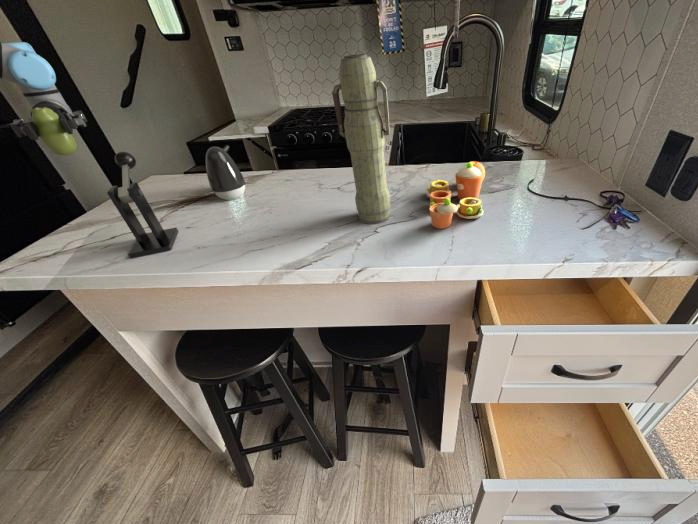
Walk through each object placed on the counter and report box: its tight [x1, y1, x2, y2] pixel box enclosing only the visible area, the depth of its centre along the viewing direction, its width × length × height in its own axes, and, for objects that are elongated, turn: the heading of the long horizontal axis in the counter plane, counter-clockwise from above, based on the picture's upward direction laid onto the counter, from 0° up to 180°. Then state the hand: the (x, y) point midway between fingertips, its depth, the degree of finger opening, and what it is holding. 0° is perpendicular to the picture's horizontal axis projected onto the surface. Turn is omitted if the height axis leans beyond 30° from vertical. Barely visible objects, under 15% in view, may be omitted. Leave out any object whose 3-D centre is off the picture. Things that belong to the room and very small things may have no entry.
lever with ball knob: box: [114, 151, 137, 204], centre depth 80 cm, size 14×4×4 cm, turn 19°
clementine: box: [463, 160, 486, 182], centre depth 100 cm, size 8×7×7 cm
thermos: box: [331, 53, 392, 225], centre depth 79 cm, size 9×12×35 cm
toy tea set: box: [425, 161, 484, 230], centre depth 87 cm, size 26×16×10 cm, turn 175°
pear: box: [30, 107, 78, 156], centre depth 76 cm, size 6×5×10 cm
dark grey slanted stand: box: [106, 181, 179, 259], centre depth 81 cm, size 11×9×15 cm
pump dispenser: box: [205, 144, 246, 201], centre depth 104 cm, size 10×10×15 cm
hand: (48, 130), depth 72 cm, fingers closed on pear, 5 cm apart
